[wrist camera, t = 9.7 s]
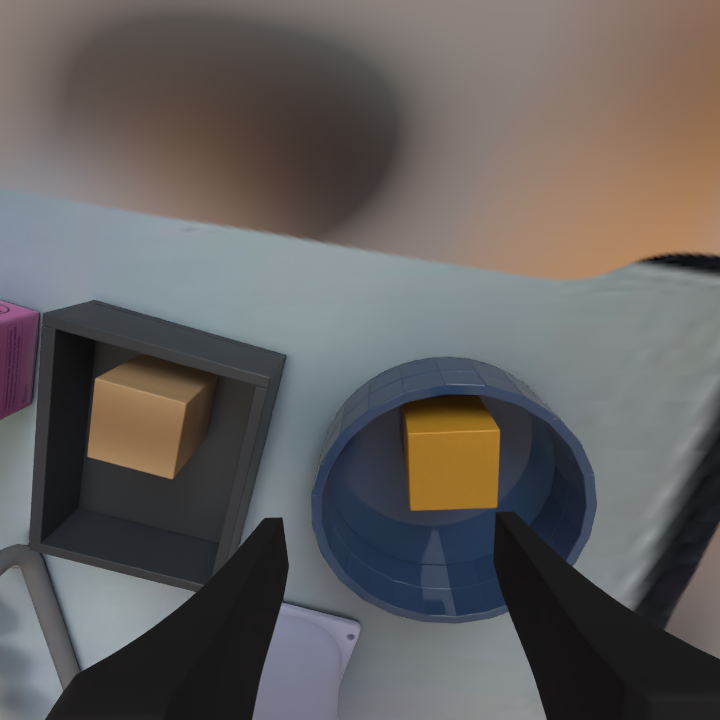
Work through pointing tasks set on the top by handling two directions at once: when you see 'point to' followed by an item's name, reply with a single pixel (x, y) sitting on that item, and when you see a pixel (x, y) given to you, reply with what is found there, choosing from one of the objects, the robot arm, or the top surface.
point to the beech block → (150, 414)
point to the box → (17, 356)
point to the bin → (133, 487)
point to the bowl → (443, 527)
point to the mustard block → (450, 453)
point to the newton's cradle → (43, 607)
